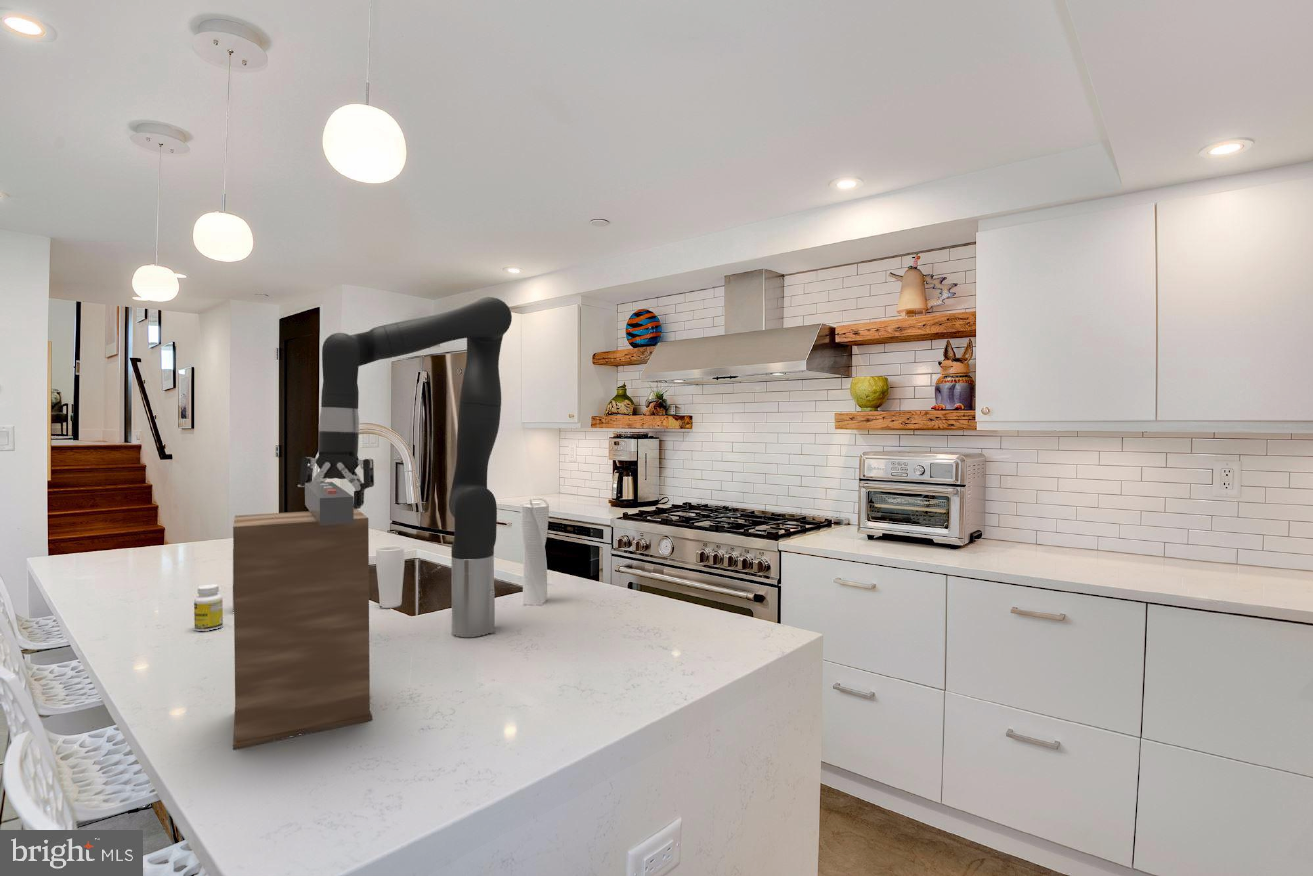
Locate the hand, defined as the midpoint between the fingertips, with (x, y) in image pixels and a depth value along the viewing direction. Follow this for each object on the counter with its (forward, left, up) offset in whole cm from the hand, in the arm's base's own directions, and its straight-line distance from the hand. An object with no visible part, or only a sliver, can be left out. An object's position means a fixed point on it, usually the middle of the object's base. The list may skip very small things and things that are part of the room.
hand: (336, 508), depth 140 cm
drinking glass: (-7, -32, -30) cm, 44 cm away
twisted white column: (-43, -25, -30) cm, 58 cm away
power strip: (-4, +30, +3) cm, 31 cm away
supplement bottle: (+31, -23, -30) cm, 48 cm away
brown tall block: (0, +34, -29) cm, 45 cm away
